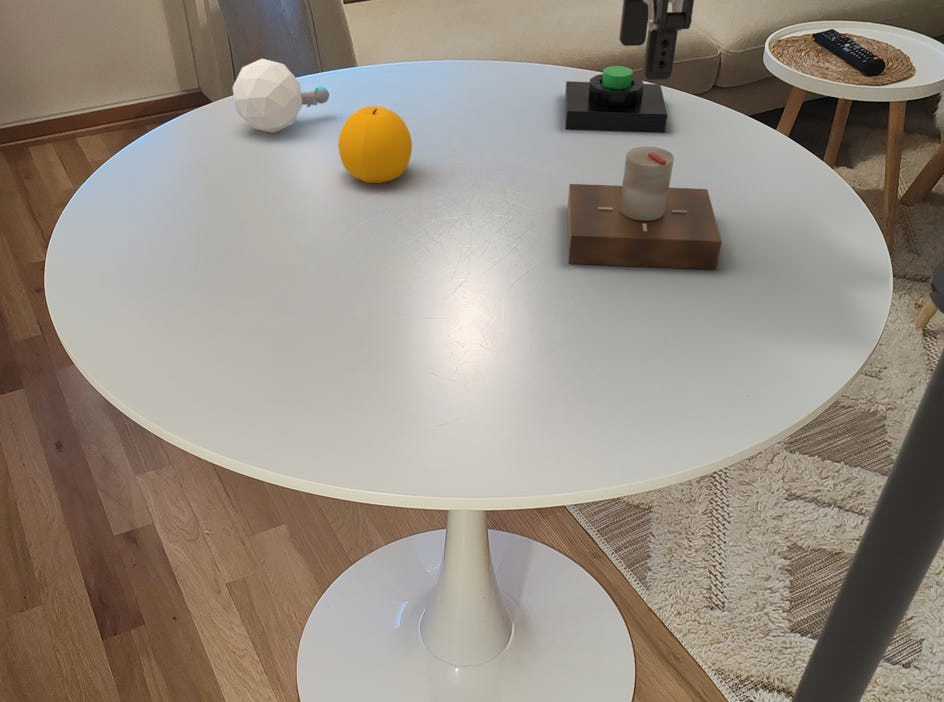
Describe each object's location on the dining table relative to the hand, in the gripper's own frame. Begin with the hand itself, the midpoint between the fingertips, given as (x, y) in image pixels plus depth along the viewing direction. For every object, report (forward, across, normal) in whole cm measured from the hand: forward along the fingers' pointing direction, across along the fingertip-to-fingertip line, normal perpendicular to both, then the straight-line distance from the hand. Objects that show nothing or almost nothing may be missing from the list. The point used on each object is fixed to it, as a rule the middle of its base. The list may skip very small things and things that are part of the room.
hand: (643, 60), depth 79 cm
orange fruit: (+18, +18, +23) cm, 34 cm away
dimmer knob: (+15, +1, -2) cm, 15 cm away
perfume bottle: (+18, +33, +34) cm, 51 cm away
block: (+18, +33, -7) cm, 38 cm away
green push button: (+14, +33, -7) cm, 37 cm away
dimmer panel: (+18, +1, -2) cm, 18 cm away
